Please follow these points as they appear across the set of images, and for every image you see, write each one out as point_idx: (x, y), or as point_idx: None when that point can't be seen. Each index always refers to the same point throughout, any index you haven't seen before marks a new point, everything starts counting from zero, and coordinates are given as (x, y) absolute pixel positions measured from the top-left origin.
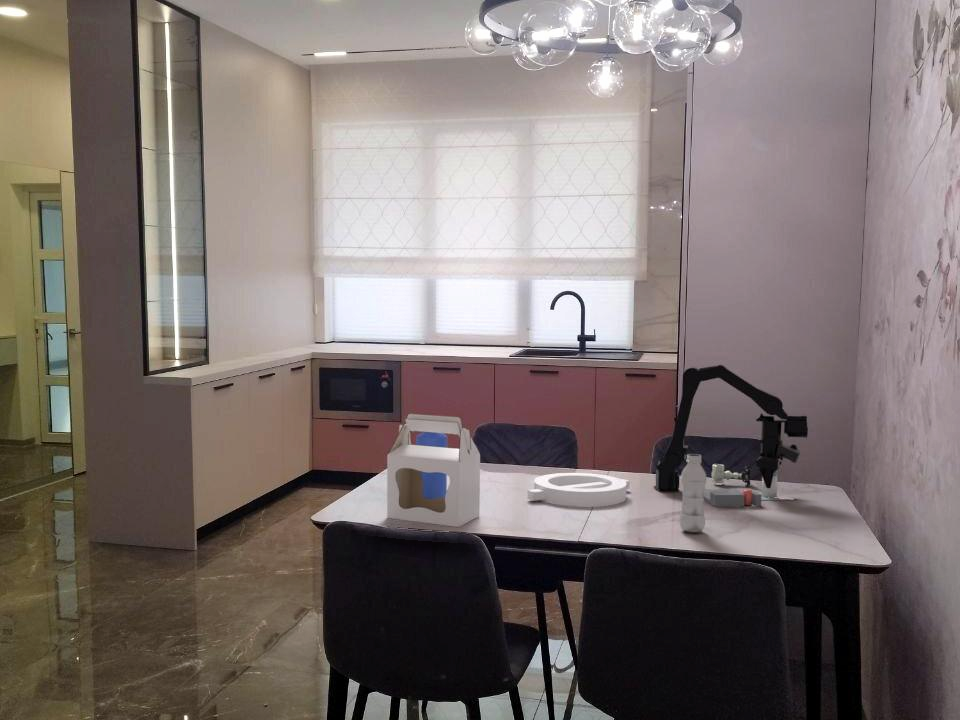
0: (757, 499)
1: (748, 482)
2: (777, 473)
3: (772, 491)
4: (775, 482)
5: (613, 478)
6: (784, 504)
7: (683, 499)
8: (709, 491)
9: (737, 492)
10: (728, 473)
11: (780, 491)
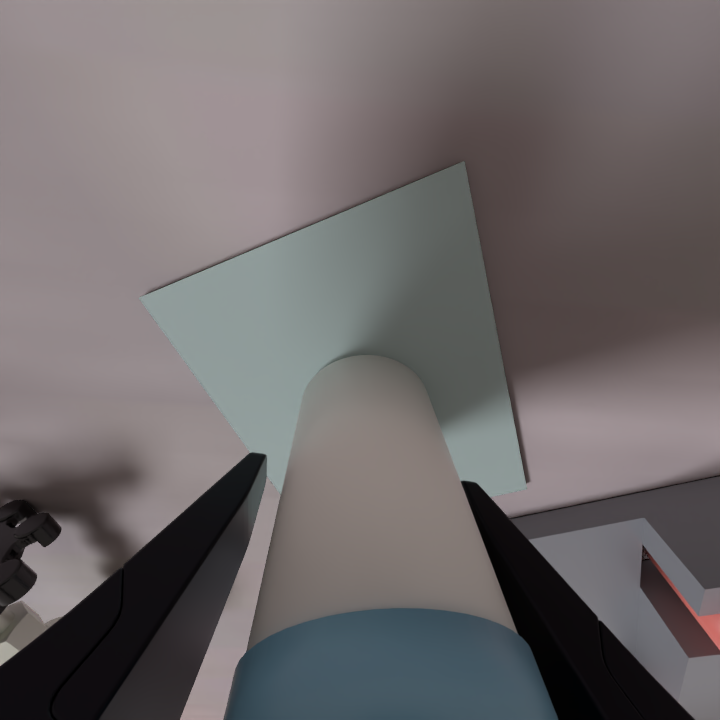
0: None
1: (45, 538)
2: (460, 662)
3: (440, 430)
4: (453, 492)
5: None
6: (684, 305)
7: None
8: None
9: (707, 664)
10: None
11: (56, 295)
